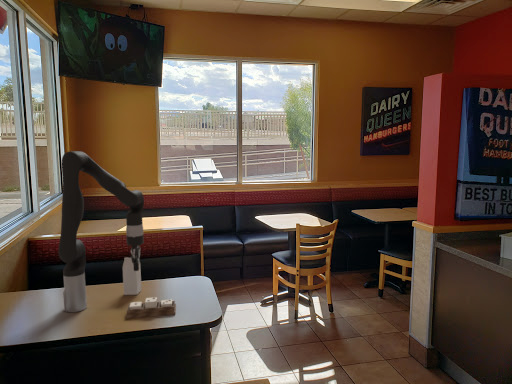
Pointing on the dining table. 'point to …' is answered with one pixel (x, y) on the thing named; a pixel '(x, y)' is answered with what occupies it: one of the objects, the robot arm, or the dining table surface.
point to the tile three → (166, 303)
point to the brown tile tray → (151, 311)
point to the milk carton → (131, 278)
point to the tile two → (151, 302)
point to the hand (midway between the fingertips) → (136, 270)
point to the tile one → (135, 305)
